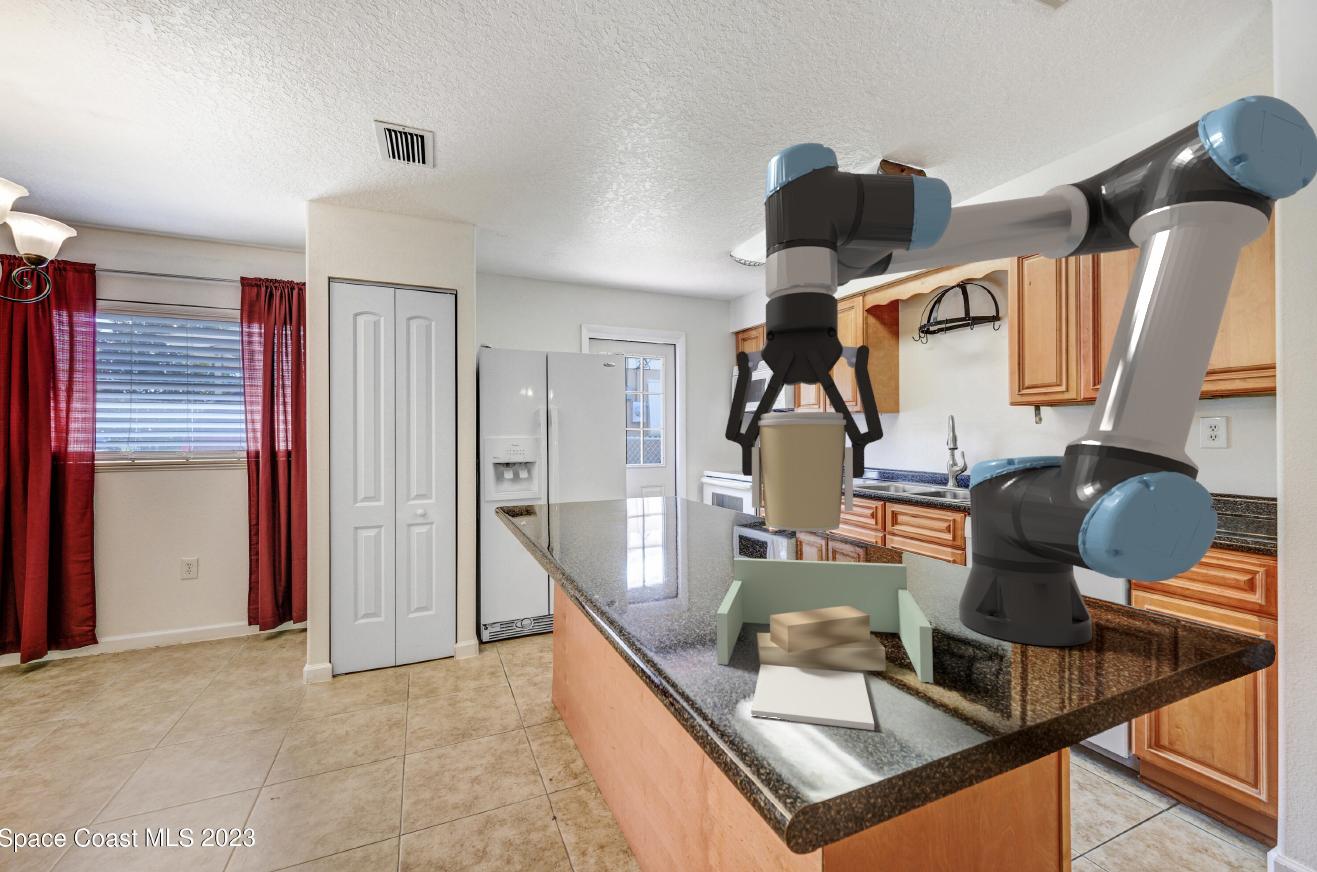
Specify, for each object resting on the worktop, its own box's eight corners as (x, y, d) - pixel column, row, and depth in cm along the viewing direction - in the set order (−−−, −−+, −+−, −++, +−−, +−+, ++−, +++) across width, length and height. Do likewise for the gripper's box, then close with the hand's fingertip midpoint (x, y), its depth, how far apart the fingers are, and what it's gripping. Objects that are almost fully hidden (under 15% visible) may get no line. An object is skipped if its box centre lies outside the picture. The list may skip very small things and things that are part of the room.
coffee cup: (813, 518, 65) (813, 416, 65) (867, 530, 56) (866, 412, 56) (742, 521, 62) (742, 415, 62) (787, 535, 53) (787, 411, 53)
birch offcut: (873, 659, 67) (873, 634, 67) (885, 675, 62) (885, 648, 62) (757, 656, 68) (756, 632, 68) (760, 672, 64) (759, 646, 64)
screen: (906, 630, 75) (904, 564, 75) (933, 683, 59) (931, 598, 59) (735, 618, 81) (734, 557, 81) (717, 663, 65) (716, 587, 65)
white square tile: (862, 678, 60) (862, 673, 60) (874, 730, 50) (874, 723, 50) (761, 669, 63) (760, 664, 63) (751, 716, 52) (751, 709, 53)
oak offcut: (848, 629, 69) (848, 605, 69) (870, 640, 65) (869, 614, 65) (770, 640, 65) (769, 615, 65) (788, 652, 62) (787, 625, 62)
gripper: (905, 299, 60) (906, 507, 59) (710, 313, 66) (710, 500, 66) (915, 279, 53) (916, 516, 52) (695, 297, 59) (695, 508, 59)
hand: (801, 507), depth 59 cm, fingers closed on coffee cup, 9 cm apart
